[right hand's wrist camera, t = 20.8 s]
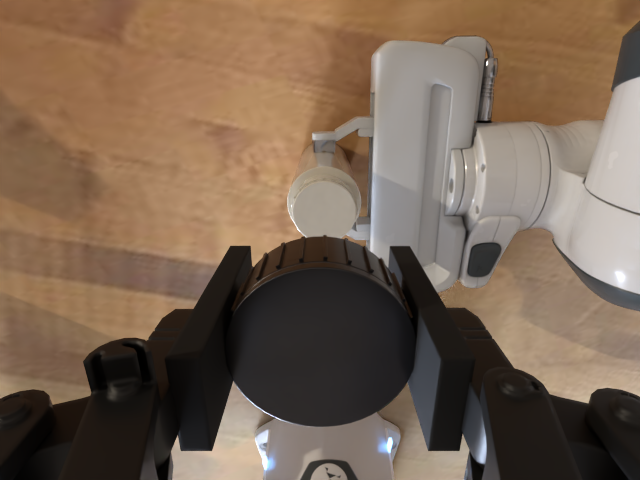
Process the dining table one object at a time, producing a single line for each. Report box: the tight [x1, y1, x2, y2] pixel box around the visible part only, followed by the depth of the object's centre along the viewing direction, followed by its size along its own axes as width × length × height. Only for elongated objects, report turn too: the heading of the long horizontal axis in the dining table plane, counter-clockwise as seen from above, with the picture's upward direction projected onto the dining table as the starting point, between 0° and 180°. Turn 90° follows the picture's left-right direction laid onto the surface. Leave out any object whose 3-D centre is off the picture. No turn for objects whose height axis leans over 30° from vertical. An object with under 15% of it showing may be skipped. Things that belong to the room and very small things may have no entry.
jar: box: [287, 144, 361, 238], centre depth 30 cm, size 5×5×16 cm
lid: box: [225, 235, 416, 427], centre depth 12 cm, size 5×6×2 cm
